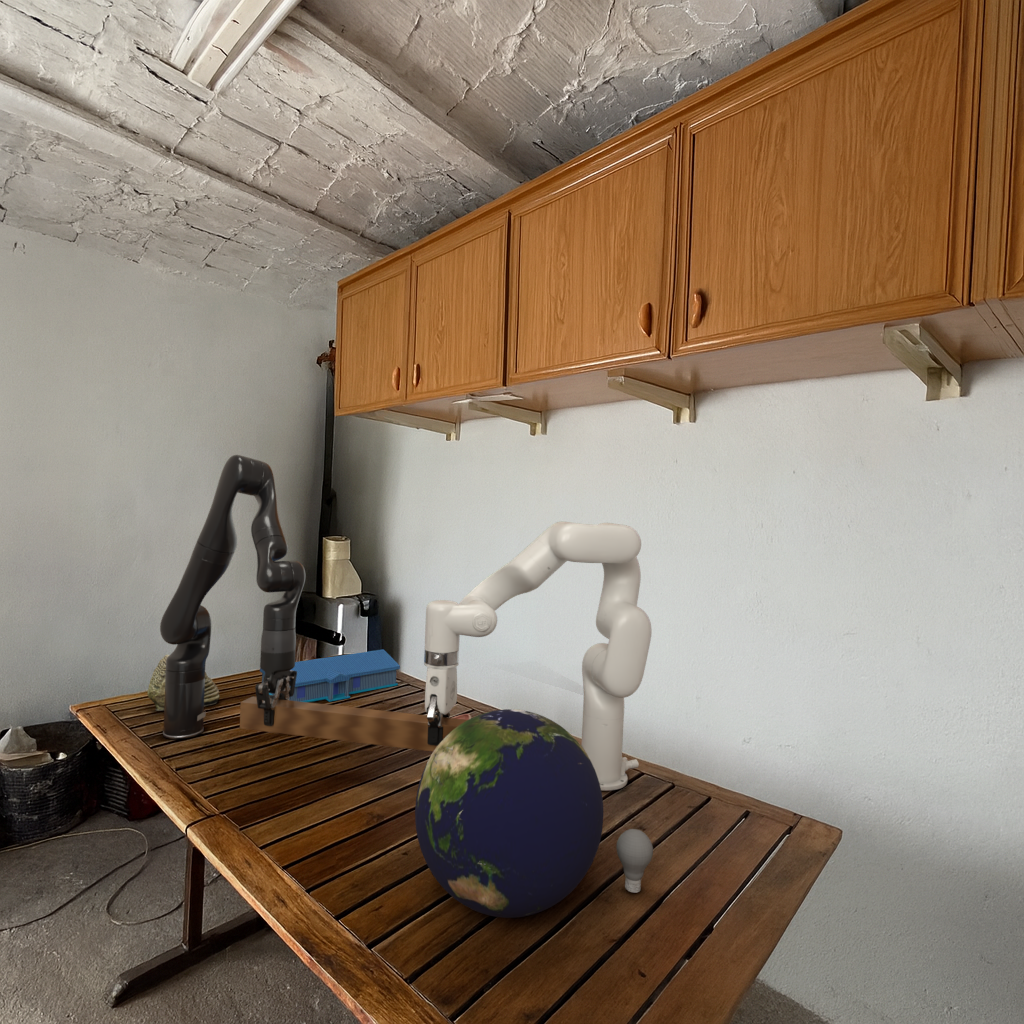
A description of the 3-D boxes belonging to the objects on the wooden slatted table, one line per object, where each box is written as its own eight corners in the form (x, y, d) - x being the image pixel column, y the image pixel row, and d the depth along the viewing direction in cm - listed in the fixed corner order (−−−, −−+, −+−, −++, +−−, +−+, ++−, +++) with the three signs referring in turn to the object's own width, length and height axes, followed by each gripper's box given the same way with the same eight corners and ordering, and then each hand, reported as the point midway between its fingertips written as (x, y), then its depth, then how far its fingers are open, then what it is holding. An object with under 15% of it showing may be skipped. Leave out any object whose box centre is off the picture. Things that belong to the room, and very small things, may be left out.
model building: (289, 709, 186) (291, 675, 185) (258, 688, 204) (259, 657, 204) (403, 687, 212) (405, 657, 212) (366, 670, 230) (368, 643, 230)
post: (239, 728, 145) (240, 702, 145) (251, 721, 149) (252, 696, 149) (469, 756, 135) (470, 727, 135) (474, 747, 140) (475, 720, 140)
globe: (373, 928, 94) (381, 727, 93) (463, 833, 121) (470, 677, 121) (566, 996, 82) (577, 768, 82) (617, 874, 110) (625, 703, 109)
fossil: (144, 707, 182) (145, 655, 182) (212, 696, 194) (213, 647, 194) (151, 716, 175) (153, 662, 175) (221, 703, 188) (223, 653, 188)
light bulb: (610, 879, 108) (613, 822, 108) (644, 879, 109) (647, 822, 109) (619, 902, 102) (622, 840, 102) (655, 901, 103) (658, 840, 103)
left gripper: (275, 656, 138) (272, 734, 138) (309, 642, 152) (306, 713, 152) (244, 653, 139) (241, 730, 139) (280, 639, 153) (277, 709, 154)
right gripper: (447, 669, 130) (444, 757, 130) (467, 650, 146) (464, 728, 147) (412, 665, 131) (409, 753, 131) (436, 647, 148) (433, 725, 148)
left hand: (275, 721), depth 146 cm, fingers closed on post, 4 cm apart
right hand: (438, 739), depth 139 cm, fingers closed on post, 4 cm apart
